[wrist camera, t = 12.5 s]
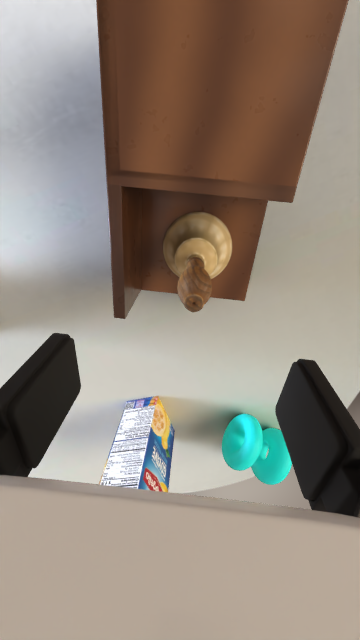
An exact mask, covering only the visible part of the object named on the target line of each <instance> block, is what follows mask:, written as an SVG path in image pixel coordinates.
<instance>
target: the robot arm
mask: <svg viewBox="0 0 360 640" xmlns="http://www.w3.org/2000/svg"><path fill="white" fill-rule="evenodd" d="M80 388H81V383H80V377H79V370H78V364H77V357H76V351H75V344H74V340H73V338H70V336H69V335H68V334H60V333H53V334H52V335H51V336H50V337H49V338H48V339H47V340H46V341H45V342H44V343H43V344H42V346H41V347H40V348H39V349H38V350H37V351H36V352H35V353H34V354H33V355H32V356H31V357H30V358H29V359H28V360H27V361H26V362H25V363H24V364H23V365H22V366H21V367H20V368H19V370H18V371H17V372H16V373H15V374H14V375H13V376H12V377H11V378H10V379H9V380H8V381H7V382H6V383H5V384H4V385H3V386H2V387H1V388H0V640H360V429H359V428H358V426H357V424H356V423H355V422H354V420H353V418H352V417H351V415H350V414H349V412H348V411H347V409H346V408H345V406H344V405H343V403H342V401H341V400H340V398H339V397H338V395H337V394H336V392H335V391H334V389H333V388H332V386H331V385H330V383H329V382H328V380H327V378H326V377H325V375H324V374H323V372H322V371H321V369H320V368H319V366H318V365H317V363H316V362H315V361H313V360H305V359H299V360H298V361H297V362H294V363H293V364H292V366H291V369H290V372H289V374H288V377H287V379H286V382H285V384H284V387H283V390H282V392H281V395H280V397H279V400H278V402H277V405H276V416H277V419H278V422H279V425H280V428H281V431H282V434H283V437H284V440H285V443H286V446H287V449H288V452H289V455H290V458H291V461H292V464H293V467H294V470H295V473H296V476H297V479H298V482H299V485H300V488H301V491H302V494H303V496H304V498H305V499H308V500H309V503H310V506H311V509H312V510H308V509H301V508H293V507H286V506H278V505H270V504H261V503H254V502H245V501H237V500H228V499H221V498H212V497H203V496H195V495H186V494H178V493H169V492H160V491H152V490H143V489H134V488H125V487H116V486H107V485H98V484H89V483H80V482H71V481H62V480H52V479H41V478H30V477H28V475H29V473H30V471H31V470H32V468H36V467H37V466H38V465H39V463H40V461H41V460H42V458H43V456H44V454H45V453H46V451H47V449H48V447H49V445H50V444H51V442H52V440H53V438H54V437H55V435H56V433H57V431H58V430H59V428H60V426H61V424H62V422H63V421H64V419H65V417H66V415H67V414H68V412H69V410H70V408H71V406H72V405H73V403H74V401H75V399H76V398H77V396H78V394H79V392H80Z"/></svg>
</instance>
